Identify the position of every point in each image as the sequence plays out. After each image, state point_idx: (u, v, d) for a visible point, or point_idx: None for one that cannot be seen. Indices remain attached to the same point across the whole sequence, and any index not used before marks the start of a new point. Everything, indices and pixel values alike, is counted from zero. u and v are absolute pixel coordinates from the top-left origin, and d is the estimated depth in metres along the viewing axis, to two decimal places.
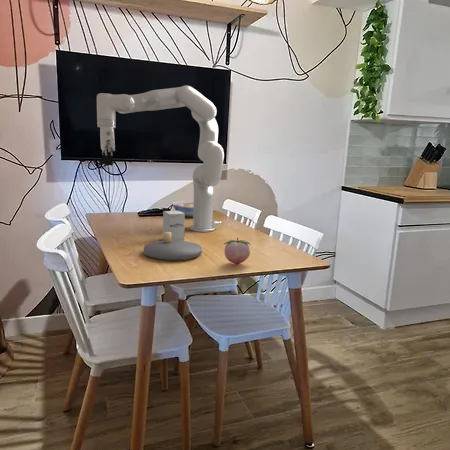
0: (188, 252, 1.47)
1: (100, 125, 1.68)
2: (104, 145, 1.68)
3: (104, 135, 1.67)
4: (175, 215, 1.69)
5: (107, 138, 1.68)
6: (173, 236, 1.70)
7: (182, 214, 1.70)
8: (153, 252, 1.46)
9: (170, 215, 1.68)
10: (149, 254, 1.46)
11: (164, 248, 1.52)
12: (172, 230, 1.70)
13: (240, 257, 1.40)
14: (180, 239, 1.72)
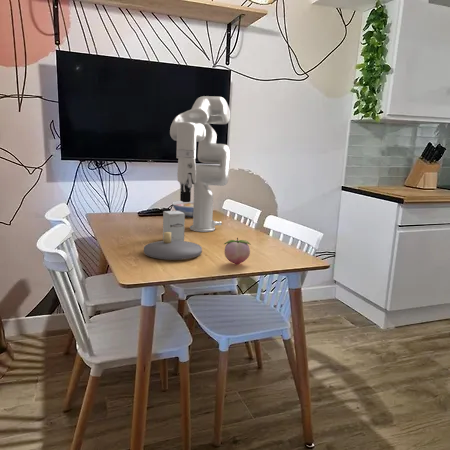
0: (188, 252, 1.47)
1: (181, 156, 1.53)
2: (185, 178, 1.53)
3: (186, 168, 1.52)
4: (175, 215, 1.69)
5: (188, 171, 1.53)
6: (173, 236, 1.70)
7: (182, 214, 1.70)
8: (153, 252, 1.46)
9: (170, 215, 1.68)
10: (149, 254, 1.46)
11: (164, 248, 1.52)
12: (172, 230, 1.70)
13: (240, 257, 1.40)
14: (180, 239, 1.72)
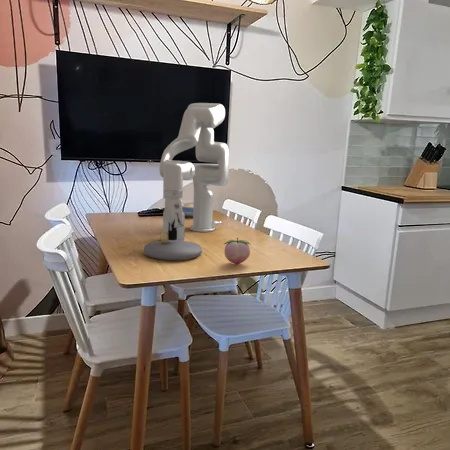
0: (191, 252, 1.48)
1: (167, 197, 1.54)
2: (172, 219, 1.54)
3: (172, 208, 1.54)
4: None
5: (175, 211, 1.54)
6: None
7: None
8: (156, 253, 1.45)
9: None
10: (152, 255, 1.45)
11: (165, 248, 1.51)
12: None
13: (240, 257, 1.40)
14: (180, 239, 1.72)
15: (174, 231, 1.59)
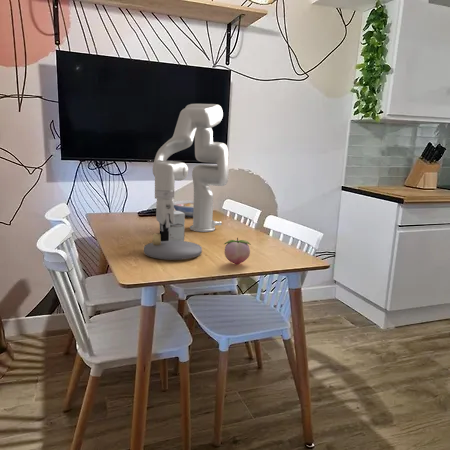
0: (196, 249, 1.52)
1: (159, 197, 1.52)
2: (163, 219, 1.52)
3: (163, 209, 1.52)
4: (175, 215, 1.69)
5: (166, 212, 1.52)
6: (173, 236, 1.70)
7: (182, 214, 1.70)
8: (168, 254, 1.44)
9: None
10: (165, 257, 1.43)
11: (169, 249, 1.51)
12: (172, 230, 1.70)
13: (240, 257, 1.40)
14: (180, 239, 1.72)
15: (166, 232, 1.57)
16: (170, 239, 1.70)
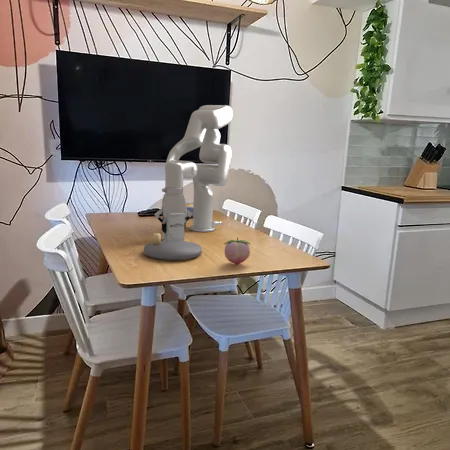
0: (196, 249, 1.53)
1: None
2: None
3: (162, 202, 1.71)
4: (175, 215, 1.69)
5: (162, 205, 1.70)
6: (173, 236, 1.70)
7: (182, 214, 1.70)
8: (168, 254, 1.44)
9: (170, 215, 1.68)
10: (166, 257, 1.43)
11: (169, 249, 1.51)
12: (172, 230, 1.70)
13: (240, 257, 1.40)
14: (180, 238, 1.72)
15: (162, 224, 1.71)
16: (170, 239, 1.70)
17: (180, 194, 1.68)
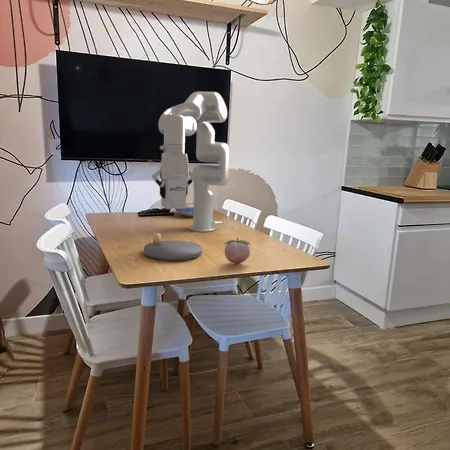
0: (196, 249, 1.53)
1: None
2: None
3: None
4: (175, 177, 1.45)
5: (160, 165, 1.46)
6: (174, 202, 1.47)
7: (184, 176, 1.47)
8: (168, 254, 1.44)
9: (170, 176, 1.44)
10: (166, 257, 1.43)
11: (169, 249, 1.51)
12: (172, 195, 1.46)
13: (240, 257, 1.40)
14: (181, 205, 1.49)
15: (160, 187, 1.47)
16: (170, 205, 1.46)
17: (181, 152, 1.45)
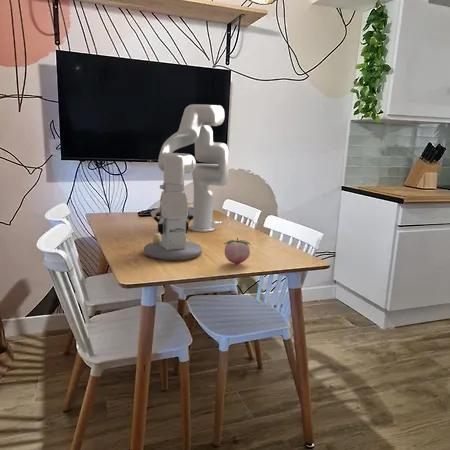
0: (196, 249, 1.53)
1: None
2: None
3: (160, 200, 1.50)
4: (175, 219, 1.48)
5: (160, 204, 1.49)
6: (173, 243, 1.50)
7: (183, 217, 1.50)
8: (168, 254, 1.44)
9: (169, 219, 1.47)
10: (166, 257, 1.43)
11: None
12: (171, 236, 1.49)
13: (240, 257, 1.40)
14: (181, 245, 1.52)
15: (158, 224, 1.49)
16: (169, 246, 1.49)
17: (181, 191, 1.47)
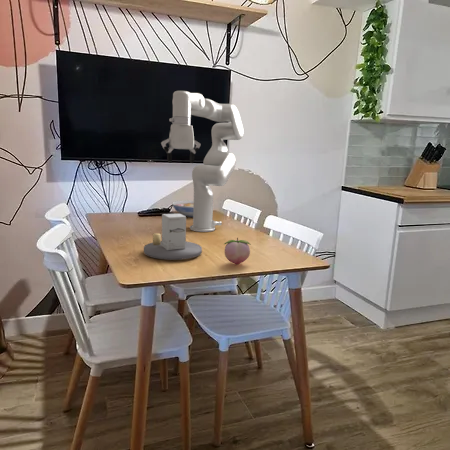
0: (196, 249, 1.53)
1: None
2: (169, 142, 1.71)
3: None
4: (175, 219, 1.48)
5: (169, 136, 1.69)
6: (173, 243, 1.50)
7: (183, 217, 1.50)
8: (168, 254, 1.44)
9: (169, 219, 1.47)
10: (166, 257, 1.43)
11: None
12: (171, 236, 1.49)
13: (240, 257, 1.40)
14: (181, 245, 1.52)
15: (167, 153, 1.70)
16: (169, 246, 1.49)
17: (188, 124, 1.68)
